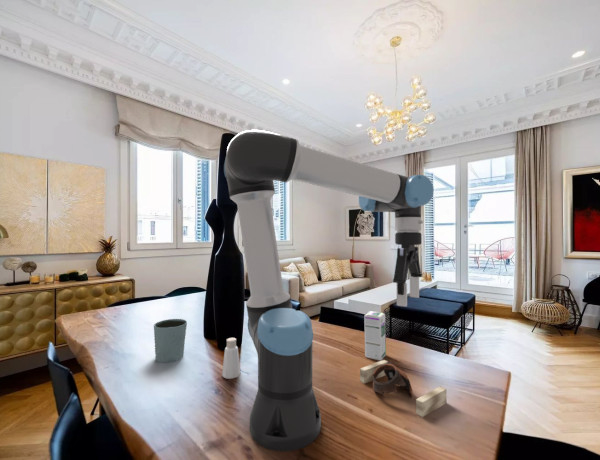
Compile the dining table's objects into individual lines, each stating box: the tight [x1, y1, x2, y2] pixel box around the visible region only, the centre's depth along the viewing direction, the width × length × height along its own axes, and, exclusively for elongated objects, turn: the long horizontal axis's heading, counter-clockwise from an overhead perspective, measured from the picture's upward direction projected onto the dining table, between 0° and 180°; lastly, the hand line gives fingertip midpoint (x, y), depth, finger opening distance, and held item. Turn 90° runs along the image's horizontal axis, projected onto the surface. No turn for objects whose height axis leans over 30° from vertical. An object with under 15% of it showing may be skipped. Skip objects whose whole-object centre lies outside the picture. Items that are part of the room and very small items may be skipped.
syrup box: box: [363, 310, 387, 361], centre depth 95 cm, size 6×6×14 cm
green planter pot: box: [153, 318, 188, 364], centre depth 94 cm, size 10×10×12 cm
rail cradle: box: [359, 359, 447, 418], centre depth 73 cm, size 10×19×4 cm, turn 33°
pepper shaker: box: [221, 337, 241, 379], centre depth 82 cm, size 5×5×11 cm
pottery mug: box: [371, 361, 414, 399], centre depth 73 cm, size 12×9×8 cm
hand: (408, 301), depth 85 cm, fingers open, 13 cm apart
